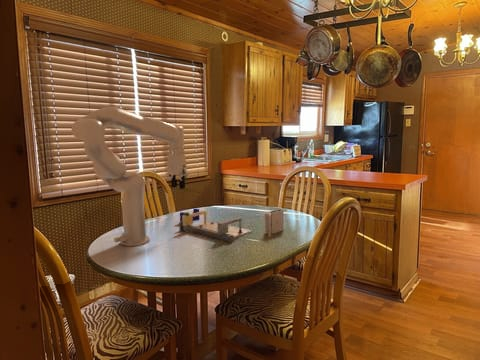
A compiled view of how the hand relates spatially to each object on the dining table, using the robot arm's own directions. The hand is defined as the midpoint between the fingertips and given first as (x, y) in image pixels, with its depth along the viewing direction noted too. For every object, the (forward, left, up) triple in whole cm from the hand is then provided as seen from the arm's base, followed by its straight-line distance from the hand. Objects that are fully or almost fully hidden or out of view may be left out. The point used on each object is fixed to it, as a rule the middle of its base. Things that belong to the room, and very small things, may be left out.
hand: (178, 187), depth 180 cm
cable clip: (+14, +9, -22) cm, 28 cm away
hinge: (+24, -41, -22) cm, 52 cm away
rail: (0, -19, -21) cm, 29 cm away
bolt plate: (+12, -18, -21) cm, 30 cm away
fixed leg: (+5, -30, -20) cm, 37 cm away
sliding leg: (+5, -6, -20) cm, 22 cm away
